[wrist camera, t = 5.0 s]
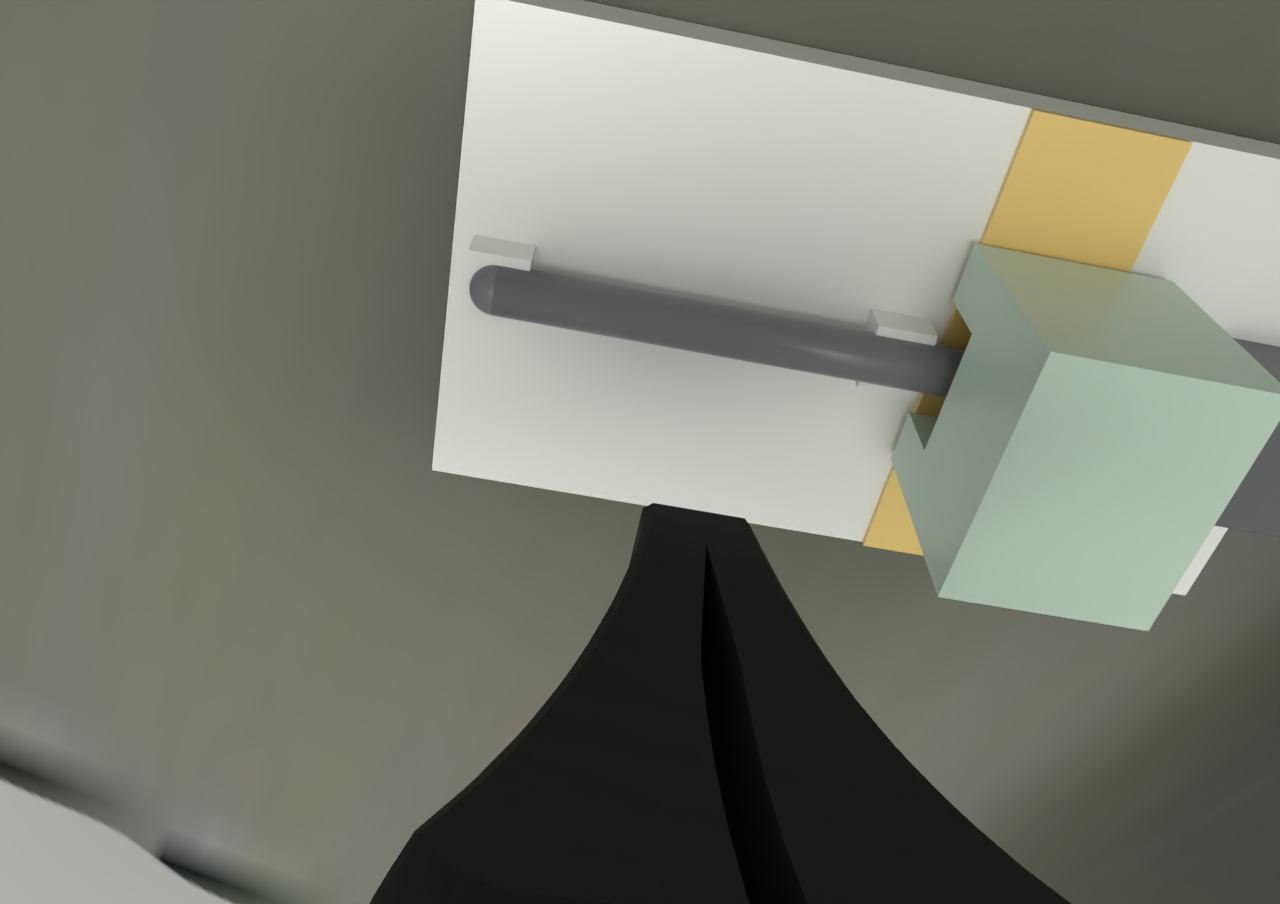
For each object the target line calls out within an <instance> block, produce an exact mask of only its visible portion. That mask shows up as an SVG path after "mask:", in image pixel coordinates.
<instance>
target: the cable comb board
mask: <svg viewBox="0 0 1280 904" xmlns="http://www.w3.org/2000/svg"><path fill="white" fill-rule="evenodd" d="M975 243H978V244H983V245H988V246H993V247H998V248H1004V249H1009V250H1014V251H1019V252H1024V253H1029V254H1035V255H1040V256H1045V257H1050V258H1055V259H1060V260H1066V261H1071V262H1076V263H1081V264H1086V265H1091V266H1097V267H1102V268H1107V269H1112V270H1117V271H1122V272H1128V273H1133V274H1138V275H1143V276H1148V277H1153V278H1159V279H1164V280H1169V281H1173V282H1174V283H1175V284H1176V285H1177V286H1178V287H1179V288H1180V289H1181V290H1183V291H1184V292H1185V293H1186V294H1187V295H1188V296H1189V297H1190V298H1191V299H1192V300H1193V301H1194V302H1195V303H1196V304H1197V305H1198V306H1199V307H1200V308H1202V309H1203V310H1204V311H1205V312H1206V313H1207V314H1208V315H1209V316H1210V317H1211V318H1212V319H1213V320H1214V321H1215V322H1216V323H1217V324H1218V325H1219V326H1221V327H1222V328H1223V329H1224V330H1225V331H1226V332H1227V333H1228V334H1229V335H1230V336H1231V337H1232V338H1233V339H1234V340H1235V341H1236V342H1237V343H1239V344H1240V345H1241V346H1242V347H1243V348H1244V349H1245V350H1246V351H1247V352H1248V353H1249V354H1250V355H1251V356H1252V357H1253V358H1254V359H1255V360H1256V361H1258V362H1259V363H1260V364H1261V365H1262V366H1263V367H1264V368H1265V369H1266V370H1267V371H1268V372H1269V373H1270V374H1271V375H1272V376H1273V377H1274V378H1275V379H1277V380H1278V381H1279V382H1280V145H1279V144H1274V143H1269V142H1264V141H1260V140H1255V139H1250V138H1245V137H1240V136H1235V135H1231V134H1226V133H1221V132H1216V131H1211V130H1206V129H1202V128H1197V127H1192V126H1187V125H1182V124H1178V123H1173V122H1168V121H1163V120H1158V119H1153V118H1149V117H1144V116H1139V115H1134V114H1129V113H1125V112H1120V111H1115V110H1110V109H1105V108H1100V107H1096V106H1091V105H1086V104H1081V103H1076V102H1071V101H1067V100H1062V99H1057V98H1052V97H1047V96H1043V95H1038V94H1033V93H1028V92H1023V91H1018V90H1014V89H1009V88H1004V87H999V86H994V85H990V84H985V83H980V82H975V81H970V80H965V79H961V78H956V77H951V76H946V75H941V74H936V73H932V72H927V71H922V70H917V69H912V68H908V67H903V66H898V65H893V64H888V63H883V62H879V61H874V60H869V59H864V58H859V57H855V56H850V55H845V54H840V53H835V52H830V51H826V50H821V49H816V48H811V47H806V46H801V45H797V44H792V43H787V42H782V41H777V40H773V39H768V38H763V37H758V36H753V35H748V34H744V33H739V32H734V31H729V30H724V29H720V28H715V27H710V26H705V25H700V24H695V23H691V22H686V21H681V20H676V19H671V18H667V17H662V16H657V15H652V14H647V13H642V12H638V11H633V10H628V9H623V8H618V7H613V6H609V5H604V4H599V3H594V2H589V1H585V0H475V9H474V20H473V31H472V42H471V53H470V63H469V74H468V85H467V96H466V107H465V118H464V129H463V139H462V150H461V161H460V172H459V183H458V194H457V204H456V215H455V226H454V237H453V248H452V259H451V269H450V280H449V291H448V302H447V313H446V324H445V334H444V345H443V356H442V367H441V378H440V389H439V399H438V410H437V421H436V432H435V443H434V454H433V464H432V470H435V471H441V472H447V473H453V474H459V475H465V476H471V477H477V478H483V479H489V480H495V481H501V482H507V483H513V484H519V485H525V486H531V487H537V488H543V489H549V490H555V491H561V492H567V493H573V494H579V495H585V496H591V497H597V498H603V499H609V500H615V501H621V502H627V503H633V504H639V505H645V506H648V505H650V504H652V503H657V504H663V505H669V506H675V507H681V508H687V509H692V510H698V511H704V512H710V513H716V514H722V515H728V516H734V517H740V518H745V519H746V521H747V522H748V523H753V524H759V525H765V526H771V527H777V528H783V529H789V530H795V531H801V532H807V533H813V534H819V535H825V536H831V537H837V538H843V539H849V540H855V541H861V542H863V546H868V547H874V548H880V549H886V550H892V551H898V552H904V553H910V554H916V555H922V556H924V555H923V552H922V549H921V546H920V543H919V540H918V538H917V535H916V532H915V529H914V526H913V523H912V520H911V517H910V514H909V511H908V508H907V505H906V502H905V499H904V496H903V494H902V491H901V488H900V485H899V482H898V479H897V476H896V473H895V470H894V467H893V464H892V461H891V457H892V454H893V452H894V449H895V447H896V444H897V442H898V439H899V436H900V434H901V431H902V429H903V426H904V424H905V421H906V418H907V416H908V413H909V412H911V413H916V414H922V415H928V416H933V417H938V416H939V414H940V411H941V409H942V406H943V404H944V401H945V399H946V396H947V394H948V392H949V389H950V387H951V384H952V382H953V379H954V377H955V374H956V372H957V370H958V367H959V365H960V362H961V360H962V357H963V355H964V352H965V350H966V348H967V345H968V343H969V340H970V338H971V335H972V333H971V331H970V330H969V328H968V326H967V324H966V323H965V321H964V319H963V318H962V316H961V314H960V312H959V311H958V309H957V307H956V305H955V304H954V302H953V298H954V295H955V292H956V290H957V287H958V285H959V282H960V280H961V277H962V274H963V272H964V269H965V267H966V264H967V262H968V259H969V256H970V254H971V251H972V249H973V246H974V244H975ZM1228 528H1230V529H1236V530H1242V531H1248V532H1254V533H1259V534H1265V535H1271V536H1277V537H1280V421H1279V423H1278V425H1277V426H1276V428H1275V429H1274V431H1273V433H1272V434H1271V436H1270V437H1269V439H1268V441H1267V442H1266V444H1265V445H1264V447H1263V449H1262V450H1261V452H1260V453H1259V455H1258V457H1257V458H1256V460H1255V461H1254V463H1253V465H1252V466H1251V468H1250V469H1249V471H1248V473H1247V474H1246V476H1245V477H1244V479H1243V481H1242V482H1241V484H1240V485H1239V487H1238V489H1237V490H1236V492H1235V493H1234V495H1233V497H1232V498H1231V500H1230V501H1229V503H1228V505H1227V506H1226V508H1225V509H1224V511H1223V513H1222V514H1221V516H1220V517H1219V519H1218V521H1217V522H1216V524H1215V525H1214V527H1213V528H1212V530H1211V532H1210V533H1209V535H1208V536H1207V538H1206V540H1205V541H1204V543H1203V544H1202V546H1201V548H1200V549H1199V551H1198V552H1197V554H1196V556H1195V557H1194V559H1193V560H1192V562H1191V564H1190V565H1189V567H1188V568H1187V570H1186V572H1185V573H1184V575H1183V576H1182V578H1181V580H1180V581H1179V583H1178V584H1177V586H1176V588H1175V589H1174V591H1173V592H1172V593H1173V594H1179V595H1186V594H1187V592H1188V591H1189V589H1190V588H1191V586H1192V584H1193V583H1194V581H1195V580H1196V578H1197V577H1198V575H1199V573H1200V572H1201V570H1202V569H1203V567H1204V566H1205V564H1206V562H1207V561H1208V559H1209V558H1210V556H1211V555H1212V553H1213V551H1214V550H1215V548H1216V547H1217V545H1218V544H1219V542H1220V540H1221V539H1222V537H1223V536H1224V534H1225V533H1226V531H1227V529H1228Z"/></svg>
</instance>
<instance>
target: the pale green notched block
mask: <svg viewBox="0 0 1280 904" xmlns="http://www.w3.org/2000/svg"><path fill="white" fill-rule="evenodd" d="M953 302H954V304H955V305H956V307H957V309H958V311H959V312H960V314H961V316H962V318H963V319H964V321H965V323H966V324H967V326H968V328H969V330H970V331H971V333H972V335H971V338H970V340H969V343H968V345H967V348H966V350H965V352H964V355H963V357H962V360H961V362H960V365H959V367H958V370H957V372H956V374H955V377H954V379H953V382H952V384H951V387H950V389H949V392H948V394H947V396H946V399H945V401H944V404H943V406H942V409H941V411H940V414H939V416H938V417H933V416H928V415H922V414H916V413H911V412H909V413H908V416H907V418H906V421H905V424H904V426H903V429H902V431H901V434H900V436H899V439H898V442H897V444H896V447H895V449H894V452H893V454H892V457H891V461H892V464H893V467H894V470H895V473H896V476H897V479H898V482H899V485H900V488H901V491H902V494H903V496H904V499H905V502H906V505H907V508H908V511H909V514H910V517H911V520H912V523H913V526H914V529H915V532H916V535H917V538H918V540H919V543H920V546H921V549H922V552H923V555H924V558H925V561H926V564H927V567H928V570H929V573H930V576H931V579H932V581H933V584H934V587H935V590H936V593H937V596H938V597H942V598H948V599H954V600H960V601H966V602H972V603H978V604H985V605H991V606H997V607H1003V608H1009V609H1015V610H1021V611H1028V612H1034V613H1040V614H1046V615H1052V616H1058V617H1064V618H1071V619H1077V620H1083V621H1089V622H1095V623H1101V624H1107V625H1114V626H1120V627H1126V628H1132V629H1138V630H1144V631H1149V629H1150V628H1151V626H1152V624H1153V623H1154V621H1155V620H1156V618H1157V616H1158V615H1159V613H1160V612H1161V610H1162V608H1163V607H1164V605H1165V604H1166V602H1167V600H1168V599H1169V597H1170V596H1171V594H1172V592H1173V591H1174V589H1175V588H1176V586H1177V584H1178V583H1179V581H1180V580H1181V578H1182V576H1183V575H1184V573H1185V572H1186V570H1187V568H1188V567H1189V565H1190V564H1191V562H1192V560H1193V559H1194V557H1195V556H1196V554H1197V552H1198V551H1199V549H1200V548H1201V546H1202V544H1203V543H1204V541H1205V540H1206V538H1207V536H1208V535H1209V533H1210V532H1211V530H1212V528H1213V527H1214V525H1215V524H1216V522H1217V521H1218V519H1219V517H1220V516H1221V514H1222V513H1223V511H1224V509H1225V508H1226V506H1227V505H1228V503H1229V501H1230V500H1231V498H1232V497H1233V495H1234V493H1235V492H1236V490H1237V489H1238V487H1239V485H1240V484H1241V482H1242V481H1243V479H1244V477H1245V476H1246V474H1247V473H1248V471H1249V469H1250V468H1251V466H1252V465H1253V463H1254V461H1255V460H1256V458H1257V457H1258V455H1259V453H1260V452H1261V450H1262V449H1263V447H1264V445H1265V444H1266V442H1267V441H1268V439H1269V437H1270V436H1271V434H1272V433H1273V431H1274V429H1275V428H1276V426H1277V425H1278V423H1279V421H1280V382H1279V381H1278V380H1277V379H1275V378H1274V377H1273V376H1272V375H1271V374H1270V373H1269V372H1268V371H1267V370H1266V369H1265V368H1264V367H1263V366H1262V365H1261V364H1260V363H1259V362H1258V361H1256V360H1255V359H1254V358H1253V357H1252V356H1251V355H1250V354H1249V353H1248V352H1247V351H1246V350H1245V349H1244V348H1243V347H1242V346H1241V345H1240V344H1239V343H1237V342H1236V341H1235V340H1234V339H1233V338H1232V337H1231V336H1230V335H1229V334H1228V333H1227V332H1226V331H1225V330H1224V329H1223V328H1222V327H1221V326H1219V325H1218V324H1217V323H1216V322H1215V321H1214V320H1213V319H1212V318H1211V317H1210V316H1209V315H1208V314H1207V313H1206V312H1205V311H1204V310H1203V309H1202V308H1200V307H1199V306H1198V305H1197V304H1196V303H1195V302H1194V301H1193V300H1192V299H1191V298H1190V297H1189V296H1188V295H1187V294H1186V293H1185V292H1184V291H1183V290H1181V289H1180V288H1179V287H1178V286H1177V285H1176V284H1175V283H1174V282H1173V281H1169V280H1164V279H1159V278H1153V277H1148V276H1143V275H1138V274H1133V273H1128V272H1122V271H1117V270H1112V269H1107V268H1102V267H1097V266H1091V265H1086V264H1081V263H1076V262H1071V261H1066V260H1060V259H1055V258H1050V257H1045V256H1040V255H1035V254H1029V253H1024V252H1019V251H1014V250H1009V249H1004V248H998V247H993V246H988V245H983V244H978V243H975V244H974V246H973V249H972V251H971V254H970V256H969V259H968V262H967V264H966V267H965V269H964V272H963V274H962V277H961V280H960V282H959V285H958V287H957V290H956V292H955V295H954V298H953Z"/></svg>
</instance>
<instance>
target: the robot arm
mask: <svg viewBox="0 0 1280 904" xmlns="http://www.w3.org/2000/svg"><path fill="white" fill-rule="evenodd" d="M370 904H1071V903H1070V902H1068V901H1067V900H1066V899H1064V898H1063V897H1062V896H1060V895H1059V894H1058V893H1056V892H1055V891H1054V890H1052V889H1051V888H1050V887H1048V886H1047V885H1046V884H1044V883H1043V882H1042V881H1040V880H1039V879H1038V878H1037V877H1035V876H1034V875H1033V874H1031V873H1030V872H1029V871H1027V870H1026V869H1025V868H1024V867H1022V866H1021V865H1020V864H1019V863H1017V862H1016V861H1015V860H1014V859H1013V858H1012V857H1010V856H1009V855H1008V854H1007V853H1006V852H1005V851H1003V850H1002V849H1001V848H1000V847H999V846H998V845H996V844H995V843H994V842H993V841H992V840H991V839H989V838H988V837H987V836H986V835H985V834H984V833H983V832H981V831H980V830H979V829H978V828H977V827H976V826H975V825H973V824H972V823H971V822H970V821H969V820H968V819H967V818H966V817H965V816H964V815H963V814H962V813H960V812H959V811H958V810H957V809H956V808H955V807H954V806H953V805H952V804H951V803H950V802H949V801H948V800H947V799H946V798H945V797H944V796H943V795H942V794H941V793H940V792H939V791H938V790H937V789H936V788H935V787H934V786H933V785H932V784H931V783H930V782H929V781H928V780H927V779H926V778H925V777H924V776H923V775H922V774H921V773H920V772H919V771H918V770H917V769H916V768H915V767H914V766H913V765H912V764H911V763H910V762H909V761H908V760H907V759H906V758H905V756H904V755H903V754H902V753H901V752H900V751H899V750H898V749H897V748H896V747H895V746H894V744H893V743H892V742H891V741H890V740H889V739H888V738H887V736H886V735H885V734H884V733H883V732H882V730H881V729H880V728H879V727H878V726H877V724H876V723H875V722H874V721H873V720H872V718H871V717H870V716H869V715H868V714H867V713H866V711H865V710H864V709H863V708H862V707H861V705H860V704H859V703H858V702H857V700H856V699H855V698H854V696H853V695H852V694H851V692H850V691H849V690H848V688H847V687H846V686H845V684H844V683H843V681H842V680H841V679H840V677H839V676H838V674H837V673H836V671H835V670H834V669H833V667H832V666H831V664H830V663H829V661H828V660H827V659H826V657H825V656H824V654H823V653H822V651H821V649H820V648H819V646H818V645H817V643H816V642H815V640H814V639H813V637H812V636H811V634H810V632H809V631H808V629H807V627H806V626H805V624H804V623H803V621H802V619H801V618H800V616H799V614H798V613H797V611H796V609H795V608H794V606H793V605H792V603H791V601H790V599H789V598H788V596H787V594H786V592H785V591H784V589H783V587H782V585H781V584H780V582H779V580H778V578H777V576H776V574H775V573H774V571H773V569H772V567H771V565H770V563H769V562H768V560H767V558H766V556H765V554H764V552H763V550H762V548H761V546H760V544H759V542H758V540H757V538H756V536H755V535H754V533H753V531H752V529H751V527H750V525H749V524H748V522H747V521H746V519H745V518H740V517H734V516H728V515H722V514H716V513H710V512H704V511H698V510H692V509H687V508H681V507H675V506H669V505H663V504H657V503H652V504H650V505H648V506H646V507H645V508H643V510H642V514H641V518H640V522H639V527H638V531H637V535H636V539H635V544H634V548H633V552H632V556H631V561H630V565H629V568H628V570H627V572H626V575H625V577H624V579H623V581H622V583H621V585H620V588H619V590H618V592H617V594H616V596H615V598H614V600H613V602H612V604H611V606H610V607H609V609H608V611H607V613H606V614H605V616H604V618H603V619H602V621H601V623H600V625H599V626H598V628H597V630H596V631H595V633H594V635H593V637H592V638H591V640H590V642H589V643H588V645H587V646H586V648H585V649H584V651H583V652H582V654H581V655H580V657H579V658H578V660H577V661H576V663H575V664H574V666H573V667H572V669H571V670H570V671H569V673H568V674H567V675H566V677H565V678H564V680H563V681H562V682H561V684H560V685H559V686H558V688H557V689H556V690H555V692H554V693H553V694H552V695H551V697H550V698H549V699H548V700H547V701H546V703H545V704H544V705H543V706H542V708H541V709H540V710H539V711H538V713H537V714H536V715H535V716H534V717H533V719H532V720H531V721H530V722H529V723H528V724H527V726H526V727H525V728H524V729H523V730H522V731H521V732H520V734H519V735H518V736H517V737H516V738H515V739H514V740H513V741H512V742H511V743H510V744H509V745H508V746H507V747H506V748H505V749H504V750H503V751H502V752H501V753H500V754H499V755H498V756H497V757H496V758H495V759H494V760H493V761H492V762H491V763H490V764H489V765H488V766H487V767H486V768H485V769H484V770H483V772H482V773H481V774H480V775H479V776H478V777H477V778H476V779H474V780H473V781H472V782H471V783H470V784H469V785H468V786H467V787H466V788H465V789H464V790H463V791H461V792H460V793H459V794H458V795H457V796H455V797H454V798H453V799H452V800H451V801H450V802H448V803H447V804H446V805H445V806H444V807H443V808H441V809H440V810H439V811H438V812H437V813H435V814H434V815H433V816H432V817H431V818H430V819H428V820H427V821H426V822H425V823H424V824H422V825H421V826H420V827H419V828H418V829H417V830H415V832H414V833H413V835H412V836H411V838H410V839H409V841H408V842H407V844H406V845H405V847H404V848H403V850H402V852H401V853H400V855H399V856H398V858H397V859H396V861H395V862H394V864H393V865H392V867H391V868H390V870H389V872H388V873H387V875H386V877H385V878H384V880H383V881H382V883H381V885H380V886H379V888H378V890H377V891H376V893H375V895H374V896H373V898H372V900H371V902H370Z"/></svg>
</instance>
